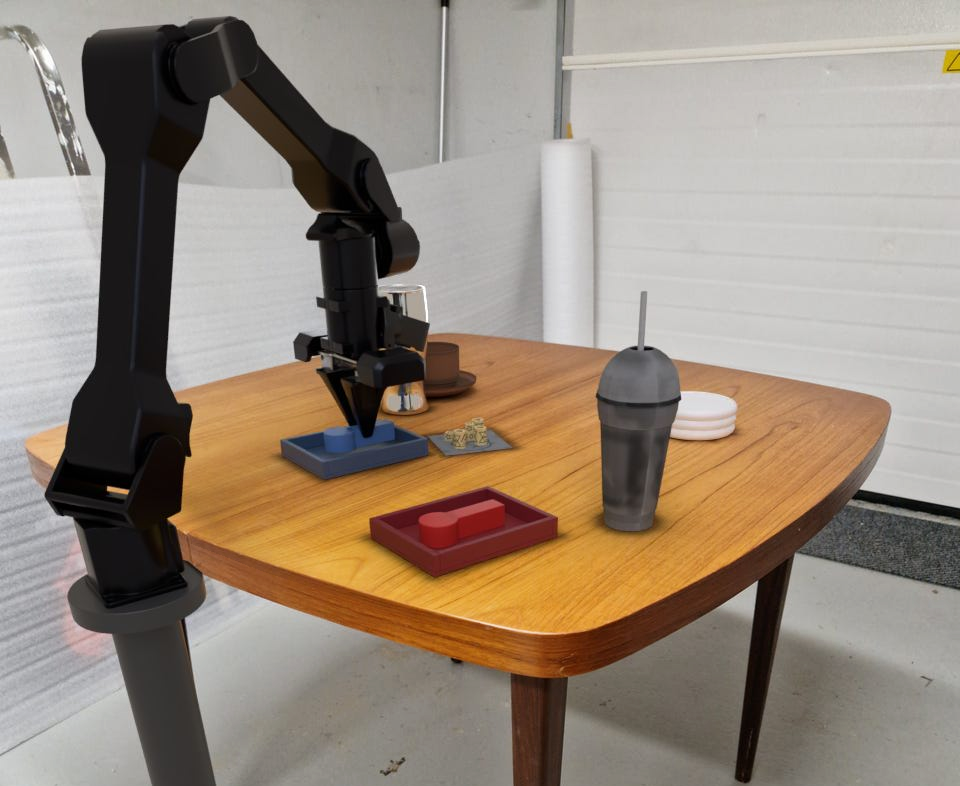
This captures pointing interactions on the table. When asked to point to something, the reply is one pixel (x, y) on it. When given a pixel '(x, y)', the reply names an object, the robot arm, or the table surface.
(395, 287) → the beer glass
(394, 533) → the red tray
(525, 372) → the table surface
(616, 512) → the beverage cup
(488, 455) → the table surface
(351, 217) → the robot arm
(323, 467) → the blue tray
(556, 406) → the table surface
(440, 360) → the cup and saucer
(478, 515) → the red spoon
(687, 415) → the white stacked discs
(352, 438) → the blue spoon
